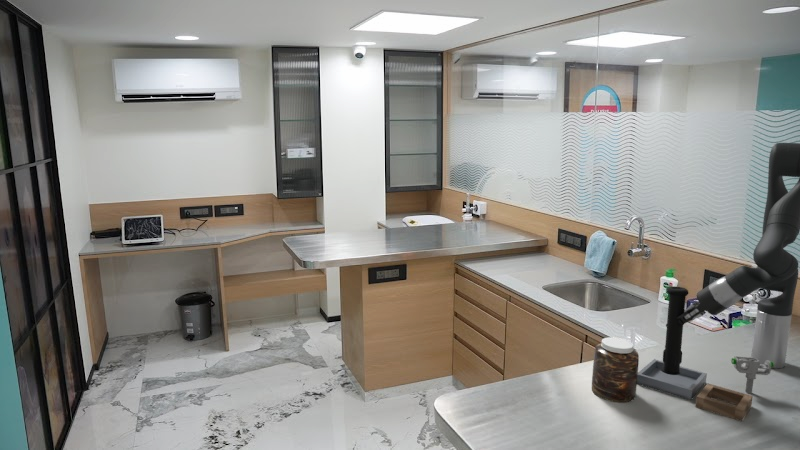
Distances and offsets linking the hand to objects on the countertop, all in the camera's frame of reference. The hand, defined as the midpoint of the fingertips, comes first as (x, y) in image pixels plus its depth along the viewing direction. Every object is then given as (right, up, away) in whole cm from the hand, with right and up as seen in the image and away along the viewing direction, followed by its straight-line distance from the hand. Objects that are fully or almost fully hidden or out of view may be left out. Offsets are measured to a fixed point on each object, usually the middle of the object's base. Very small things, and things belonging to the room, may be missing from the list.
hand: (669, 327), depth 164 cm
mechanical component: (+21, -18, -4) cm, 28 cm away
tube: (0, -13, -1) cm, 13 cm away
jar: (-18, -18, -5) cm, 26 cm away
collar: (+9, -19, -12) cm, 24 cm away
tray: (+1, -17, +2) cm, 17 cm away
